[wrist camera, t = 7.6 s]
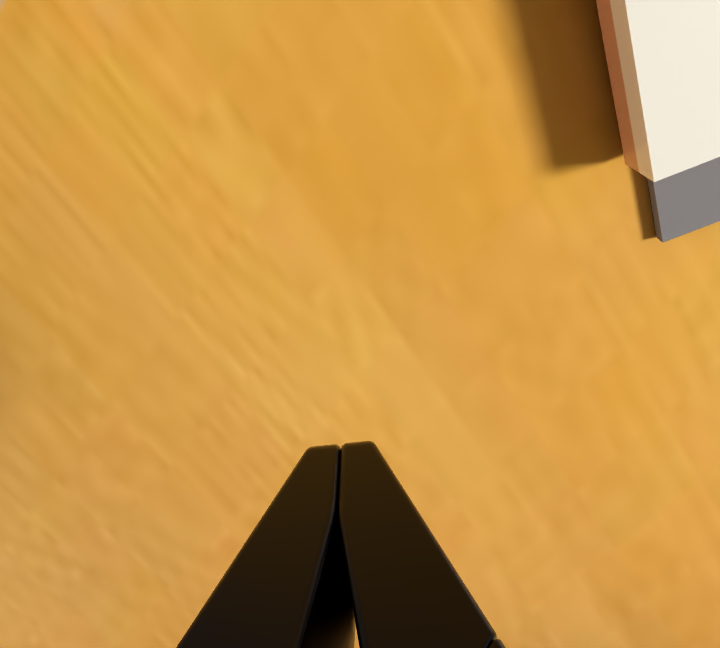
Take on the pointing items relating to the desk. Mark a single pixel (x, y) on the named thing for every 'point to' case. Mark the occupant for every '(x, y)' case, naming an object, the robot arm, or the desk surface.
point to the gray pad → (686, 200)
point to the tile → (664, 81)
